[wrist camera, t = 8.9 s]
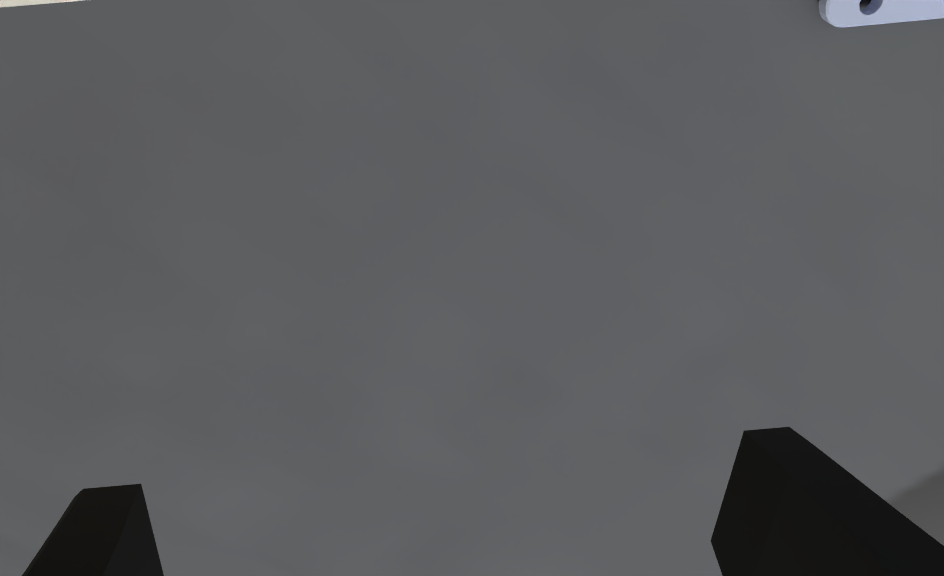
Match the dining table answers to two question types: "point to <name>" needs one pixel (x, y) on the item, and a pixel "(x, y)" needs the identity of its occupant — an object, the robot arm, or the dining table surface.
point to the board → (29, 2)
